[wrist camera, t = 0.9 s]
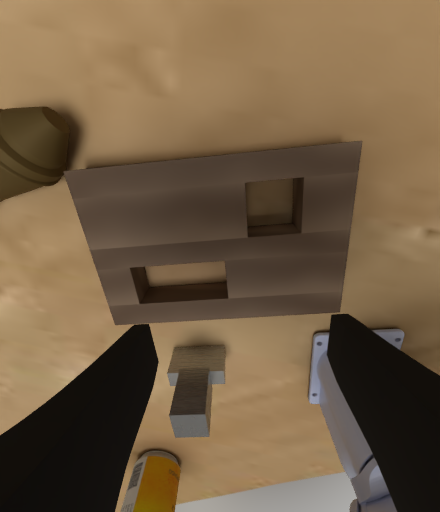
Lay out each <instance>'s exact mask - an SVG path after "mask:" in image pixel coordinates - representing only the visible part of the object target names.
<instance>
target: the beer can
mask: <svg viewBox="0 0 440 512" xmlns="http://www.w3.org/2000/svg"><path fill="white" fill-rule="evenodd" d="M180 471H181V470H180V467H179V465H178V461H177V459H176V458H175V457H174V456H173V455H171V454H169V453H167V452H163V451H149V452H146V453H144V454H143V455H142V456H141V458H140V459H139V460H137V461H136V463H135V465H134V468H133V472H132V475H131V478H130V482H129V485H128V488H127V492H126V495H125V498H124V502H123V505H122V508H121V512H175V505H176V498H177V492H178V485H179V478H180Z"/></svg>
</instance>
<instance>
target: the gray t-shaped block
mask: <svg viewBox="0 0 440 512" xmlns="http://www.w3.org/2000/svg"><path fill="white" fill-rule="evenodd" d="M167 374H168V378H169V382H170V386H176V387H175V392H174V396H173V401H172V405H171V410H170V414H169V417H170V420H171V424H172V427H173V431H174V434H175V438H176V437H209V433H210V418H211V402H212V384H225V350H224V345H217V346H196V347H176V348H174V350H173V354H172V358H171V361H170V365H169V369H168V372H167Z"/></svg>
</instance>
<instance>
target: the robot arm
mask: <svg viewBox="0 0 440 512" xmlns="http://www.w3.org/2000/svg"><path fill="white" fill-rule="evenodd" d="M403 338H404V332H403V331H402V330H401V329H383V330H371V329H369V328H368V327H366V326H365V325H363V324H362V323H361V322H359V321H358V320H356V319H355V318H353V317H352V316H350V315H349V314H334V315H331V323H330V331H329V332H326V333H317V334H315V335H314V337H313V347H312V359H311V371H310V384H309V396H308V399H309V402H310V403H311V404H320V407H321V410H322V412H323V415H324V418H325V421H326V423H327V426H328V429H329V431H330V434H331V437H332V440H333V442H334V445H335V448H336V450H337V453H338V456H339V459H340V461H341V464H342V466H343V468H344V470H345V472H346V473H347V475H348V477H349V478H350V480H351V483H352V485H353V488H354V490H355V493H356V496H357V499H355V500H353V502H352V503H351V505H350V512H440V376H439V375H438V374H436V373H434V372H433V371H431V370H430V369H428V368H426V367H425V366H423V365H422V364H420V363H419V362H417V361H416V360H414V359H413V358H411V357H409V356H408V355H407V354H405V353H404V352H402V351H401V350H400V349H401V345H402V342H403ZM318 342H319V343H318ZM158 362H159V361H158V357H157V354H156V350H155V346H154V342H153V338H152V334H151V330H150V326H149V324H139V325H133V326H132V327H131V328H130V329H129V330H128V331H127V332H126V333H125V334H123V335H122V336H121V337H120V338H119V339H118V340H117V341H116V342H115V343H114V344H113V345H112V346H111V347H110V348H109V349H107V350H106V351H105V352H104V353H103V354H102V355H101V356H100V357H99V358H98V359H97V360H96V361H94V362H93V363H92V364H91V365H90V366H89V367H88V368H87V369H85V370H84V371H83V372H82V373H81V374H80V375H78V376H77V377H76V378H75V379H74V380H73V381H71V382H70V383H69V384H68V385H67V386H66V387H64V388H63V389H62V390H61V391H60V392H58V393H57V394H56V395H55V396H53V397H52V398H51V399H50V400H48V401H47V402H46V403H45V404H43V405H42V406H41V407H39V408H38V409H37V410H35V411H34V412H33V413H31V414H30V415H29V416H27V417H26V418H25V419H23V420H22V421H20V422H19V423H18V424H16V425H15V426H13V427H12V428H10V429H9V430H8V431H6V432H5V433H3V434H2V435H0V512H115V509H116V505H117V501H118V497H119V493H120V489H121V485H122V481H123V478H124V474H125V470H126V466H127V463H128V460H129V457H130V453H131V450H132V447H133V445H134V442H135V439H136V436H137V433H138V430H139V427H140V424H141V421H142V418H143V416H144V413H145V410H146V407H147V404H148V401H149V398H150V395H151V392H152V389H153V385H154V381H155V376H156V372H157V367H158Z"/></svg>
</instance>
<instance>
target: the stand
mask: <svg viewBox="0 0 440 512" xmlns="http://www.w3.org/2000/svg"><path fill="white" fill-rule="evenodd" d="M361 148H362V141H355V142H344V143H335V144H325V145H315V146H305V147H296V148H286V149H276V150H266V151H256V152H247V153H237V154H227V155H217V156H208V157H198V158H188V159H178V160H169V161H159V162H149V163H139V164H130V165H120V166H110V167H100V168H91V169H81V170H72V171H63V172H64V175H65V178H66V181H67V184H68V187H69V190H70V193H71V196H72V199H73V201H74V204H75V207H76V210H77V213H78V216H79V219H80V222H81V225H82V228H83V231H84V234H85V237H86V240H87V243H88V246H89V249H90V252H91V255H92V258H93V261H94V264H95V267H96V269H97V272H98V275H99V278H100V281H101V284H102V287H103V290H104V293H105V296H106V299H107V302H108V305H109V308H110V311H111V314H112V317H113V320H114V323H115V325H127V324H144V323H162V322H179V321H197V320H214V319H232V318H249V317H266V316H284V315H301V314H319V313H336V312H340V307H341V300H342V292H343V284H344V277H345V269H346V262H347V254H348V246H349V239H350V231H351V224H352V216H353V208H354V201H355V193H356V186H357V178H358V170H359V163H360V155H361ZM290 178H293V211H292V223H289V224H276V225H264V226H252V227H247V212H246V192H245V183H247V182H258V181H269V180H279V179H290ZM214 261H225V267H226V278H227V282H223V283H209V284H194V285H179V286H164V287H149V284H148V280H147V276H146V272H145V268H144V267H146V266H159V265H173V264H186V263H200V262H214Z"/></svg>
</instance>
